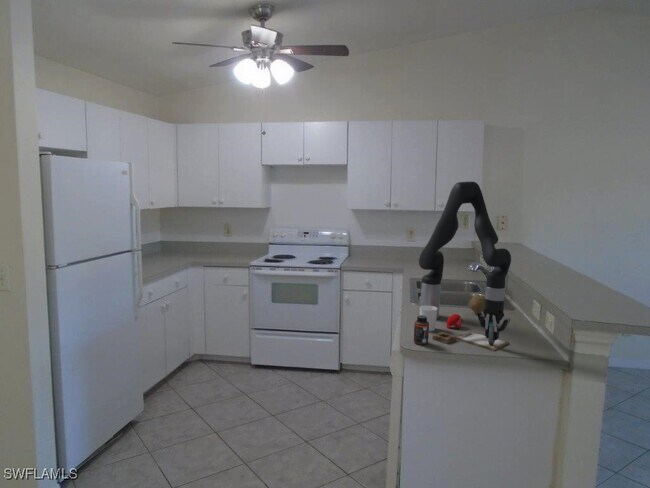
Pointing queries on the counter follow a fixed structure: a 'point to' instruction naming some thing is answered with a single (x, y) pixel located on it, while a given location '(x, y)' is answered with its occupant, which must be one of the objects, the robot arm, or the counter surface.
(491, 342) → the marker
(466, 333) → the clipboard
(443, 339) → the marker stand
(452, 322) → the cap
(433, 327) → the white cup
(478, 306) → the natural sponge
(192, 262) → the counter surface
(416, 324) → the supplement bottle
